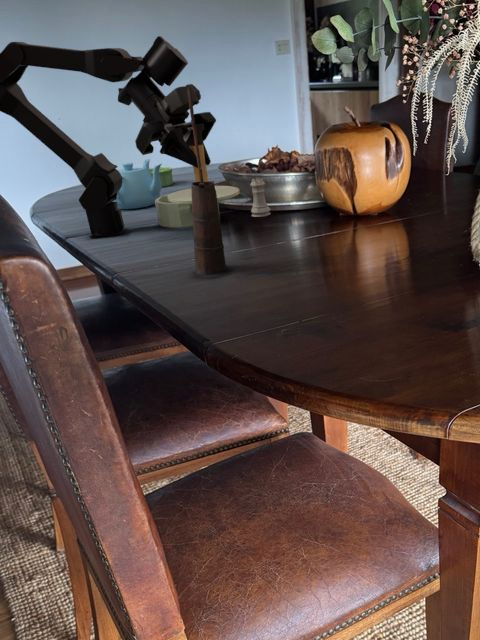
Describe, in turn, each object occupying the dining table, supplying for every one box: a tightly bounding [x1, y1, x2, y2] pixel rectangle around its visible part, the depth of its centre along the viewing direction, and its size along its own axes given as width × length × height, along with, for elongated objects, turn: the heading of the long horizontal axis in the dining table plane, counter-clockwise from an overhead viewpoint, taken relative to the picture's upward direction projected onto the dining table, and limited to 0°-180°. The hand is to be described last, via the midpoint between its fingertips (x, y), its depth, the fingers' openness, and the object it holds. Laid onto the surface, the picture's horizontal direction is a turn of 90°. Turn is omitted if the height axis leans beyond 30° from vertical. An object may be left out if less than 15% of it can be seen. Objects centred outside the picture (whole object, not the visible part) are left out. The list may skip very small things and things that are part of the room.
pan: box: [154, 193, 221, 228], centre depth 144 cm, size 14×19×6 cm
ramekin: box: [149, 166, 174, 188], centre depth 191 cm, size 9×9×4 cm
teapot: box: [113, 158, 163, 210], centre depth 165 cm, size 15×15×10 cm
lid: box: [167, 144, 241, 205], centre depth 129 cm, size 15×15×10 cm
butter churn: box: [187, 88, 227, 276], centre depth 102 cm, size 9×10×28 cm
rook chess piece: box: [249, 178, 272, 218], centre depth 143 cm, size 4×4×8 cm
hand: (204, 164), depth 128 cm, fingers closed on lid, 2 cm apart
